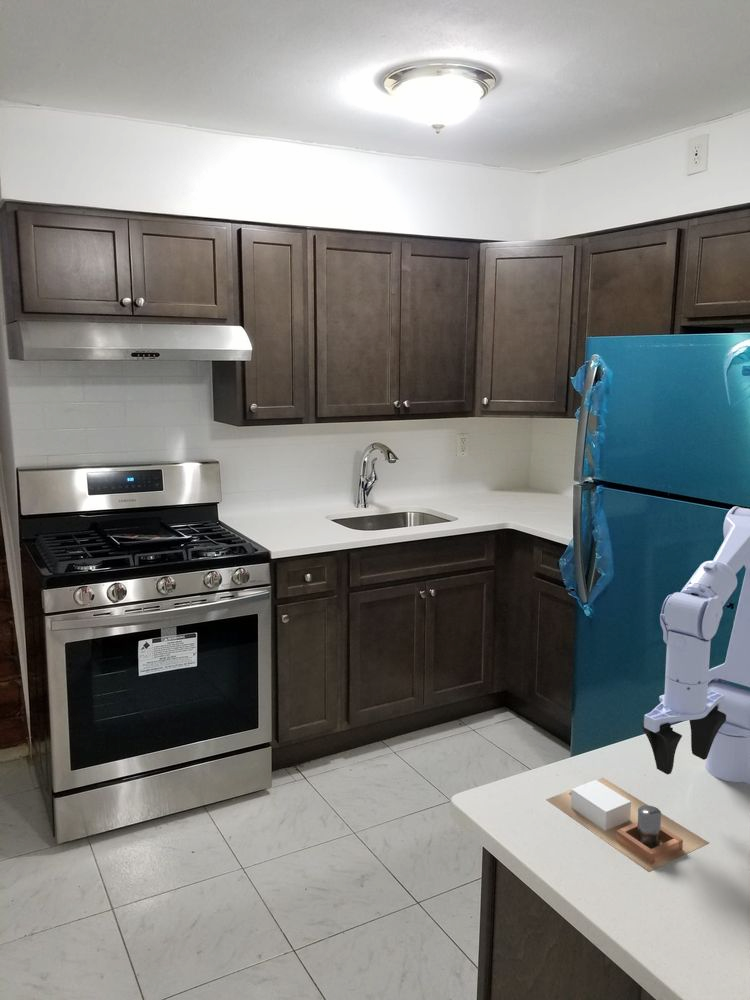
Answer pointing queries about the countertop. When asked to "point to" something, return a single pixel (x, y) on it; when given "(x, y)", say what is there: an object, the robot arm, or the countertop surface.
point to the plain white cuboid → (600, 804)
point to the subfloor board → (625, 835)
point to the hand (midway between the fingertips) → (681, 763)
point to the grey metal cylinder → (649, 826)
